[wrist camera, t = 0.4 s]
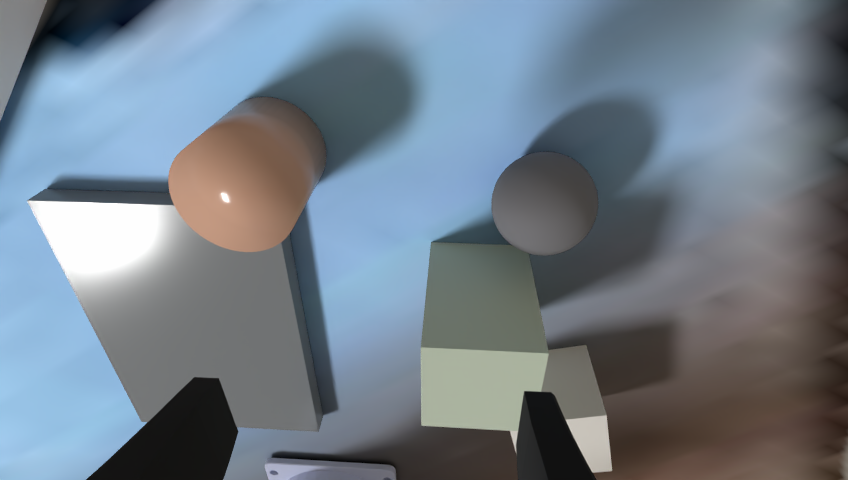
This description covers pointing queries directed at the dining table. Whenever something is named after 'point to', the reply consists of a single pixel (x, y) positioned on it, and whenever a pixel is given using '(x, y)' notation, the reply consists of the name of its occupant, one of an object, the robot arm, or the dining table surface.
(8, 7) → the crystal
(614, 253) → the dining table surface
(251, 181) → the tan sphere
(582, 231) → the rubber ball
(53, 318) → the dining table surface
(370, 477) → the robot arm
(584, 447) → the off-white cube
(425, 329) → the sage block
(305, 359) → the slate board
